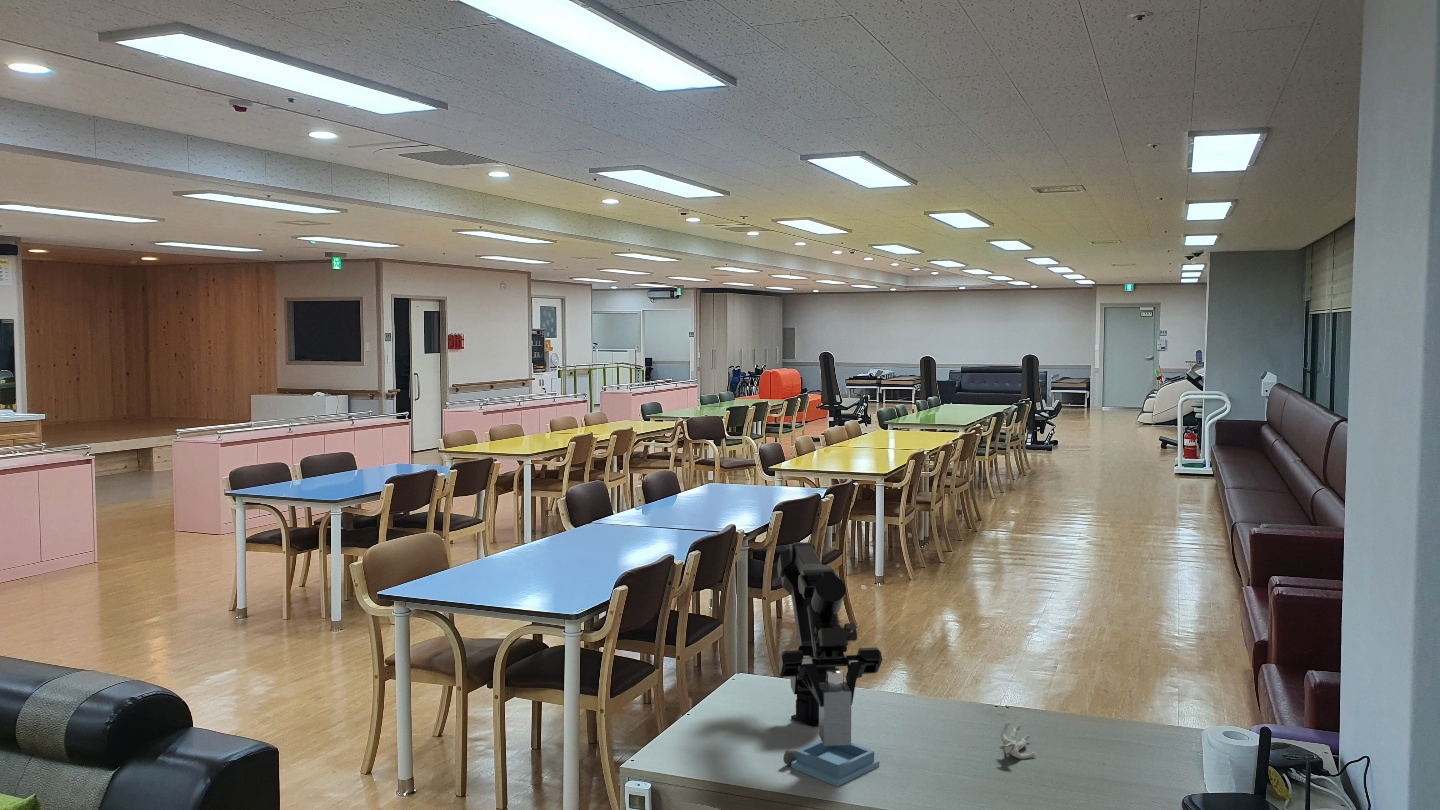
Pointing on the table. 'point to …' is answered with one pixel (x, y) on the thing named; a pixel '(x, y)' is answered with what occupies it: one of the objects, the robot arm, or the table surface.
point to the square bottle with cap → (835, 710)
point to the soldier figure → (1014, 743)
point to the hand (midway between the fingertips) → (836, 705)
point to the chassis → (832, 762)
